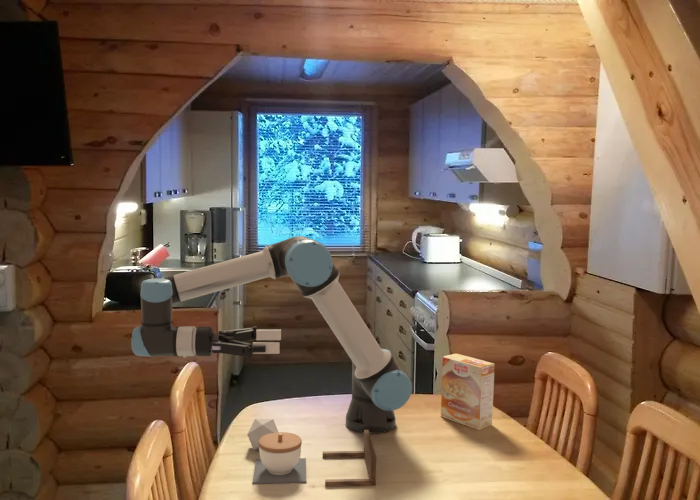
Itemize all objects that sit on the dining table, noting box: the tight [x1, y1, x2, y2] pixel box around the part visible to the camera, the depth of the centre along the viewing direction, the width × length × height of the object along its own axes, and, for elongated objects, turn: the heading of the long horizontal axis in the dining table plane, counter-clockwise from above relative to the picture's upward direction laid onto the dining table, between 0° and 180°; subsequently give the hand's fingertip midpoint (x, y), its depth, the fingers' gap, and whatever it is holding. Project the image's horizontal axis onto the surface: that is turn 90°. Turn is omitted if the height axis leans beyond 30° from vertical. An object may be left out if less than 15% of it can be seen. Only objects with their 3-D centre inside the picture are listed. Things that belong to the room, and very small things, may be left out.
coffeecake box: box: [440, 353, 496, 431], centre depth 196 cm, size 15×7×20 cm, turn 42°
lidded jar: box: [258, 431, 303, 475], centre depth 159 cm, size 11×11×9 cm
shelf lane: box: [322, 430, 377, 488], centre depth 161 cm, size 12×17×7 cm
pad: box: [252, 457, 307, 485], centre depth 160 cm, size 13×13×1 cm
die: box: [247, 418, 279, 451], centre depth 174 cm, size 8×9×10 cm
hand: (280, 341), depth 163 cm, fingers open, 13 cm apart
